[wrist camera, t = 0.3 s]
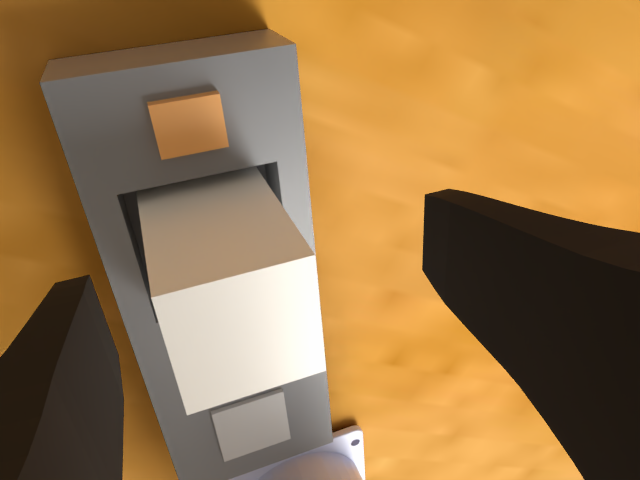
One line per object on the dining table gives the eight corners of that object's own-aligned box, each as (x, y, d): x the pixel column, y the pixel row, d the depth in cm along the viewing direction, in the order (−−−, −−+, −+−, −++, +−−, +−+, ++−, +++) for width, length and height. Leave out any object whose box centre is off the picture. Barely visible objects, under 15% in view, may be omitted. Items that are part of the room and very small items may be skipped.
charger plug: (264, 251, 21) (326, 370, 15) (162, 277, 20) (186, 415, 14) (249, 157, 19) (315, 254, 13) (134, 180, 18) (151, 297, 12)
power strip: (312, 396, 27) (336, 448, 25) (176, 441, 26) (185, 503, 23) (269, 28, 18) (300, 46, 15) (48, 59, 16) (37, 86, 13)
